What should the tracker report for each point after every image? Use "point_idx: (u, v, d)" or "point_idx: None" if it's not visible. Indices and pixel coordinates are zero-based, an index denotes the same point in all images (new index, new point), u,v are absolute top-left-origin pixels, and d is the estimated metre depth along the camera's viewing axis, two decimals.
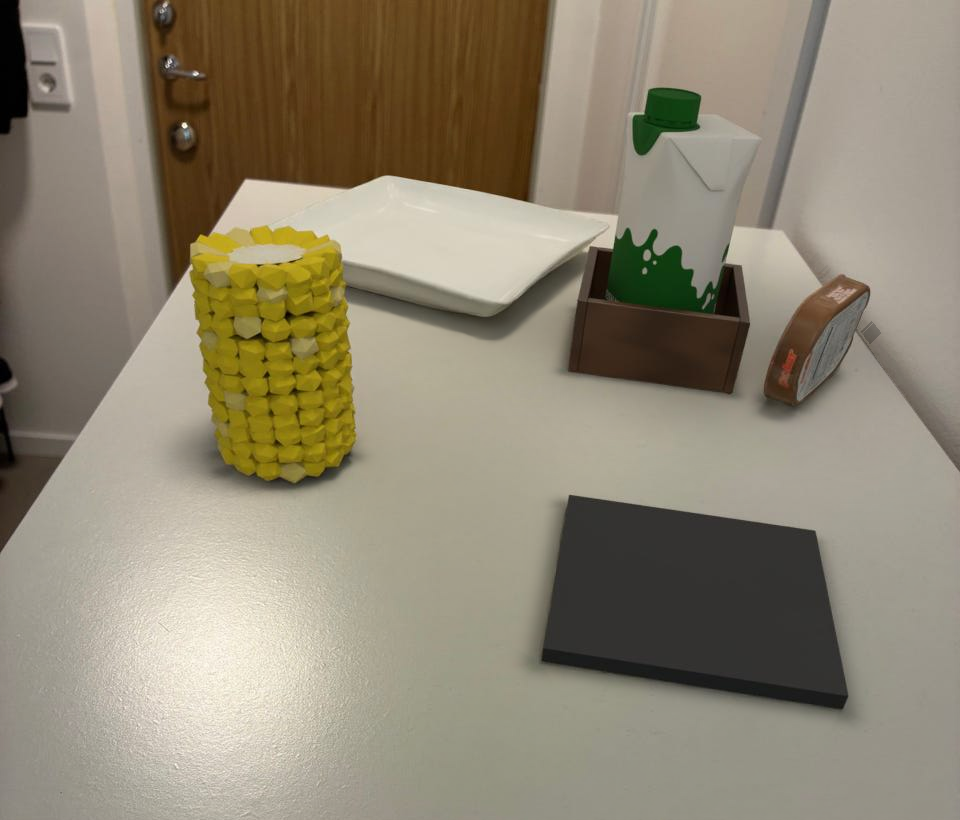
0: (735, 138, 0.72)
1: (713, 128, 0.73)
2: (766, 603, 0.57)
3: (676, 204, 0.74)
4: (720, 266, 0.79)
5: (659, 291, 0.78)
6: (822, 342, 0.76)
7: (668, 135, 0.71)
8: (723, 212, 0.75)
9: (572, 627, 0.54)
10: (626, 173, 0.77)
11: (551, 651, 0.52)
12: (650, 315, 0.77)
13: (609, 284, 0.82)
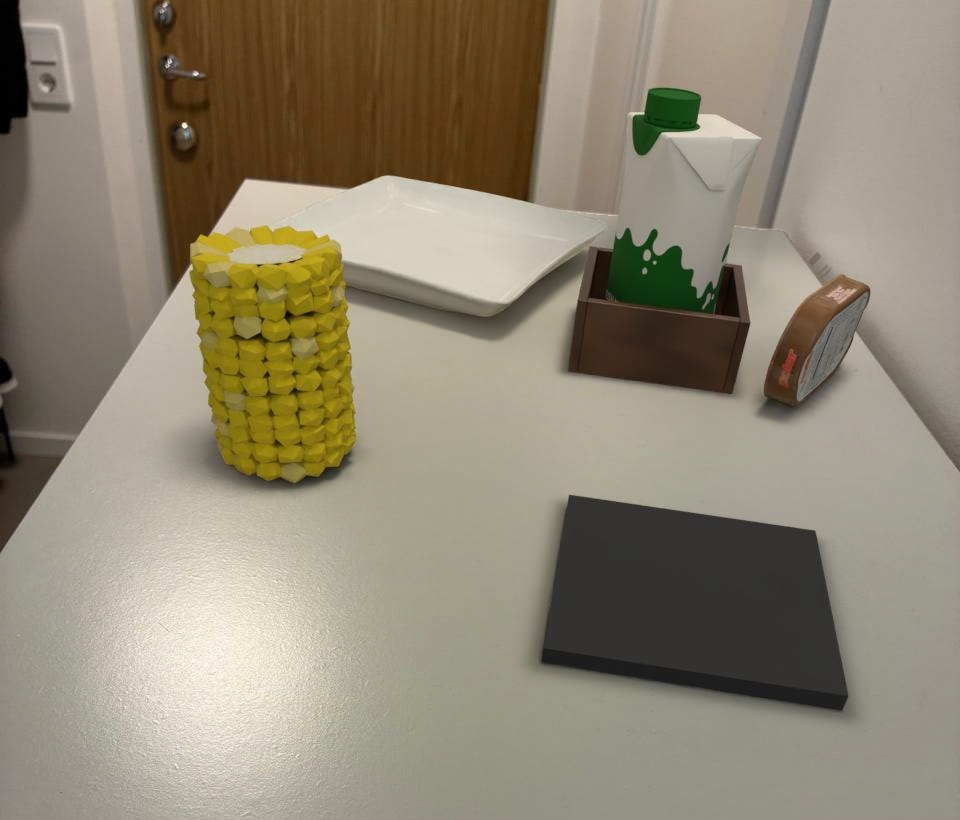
0: (735, 138, 0.72)
1: (713, 128, 0.73)
2: (766, 603, 0.57)
3: (676, 204, 0.74)
4: (720, 266, 0.79)
5: (659, 291, 0.78)
6: (822, 342, 0.76)
7: (668, 135, 0.71)
8: (723, 212, 0.75)
9: (572, 627, 0.54)
10: (626, 173, 0.77)
11: (551, 651, 0.52)
12: (650, 315, 0.77)
13: (609, 284, 0.82)
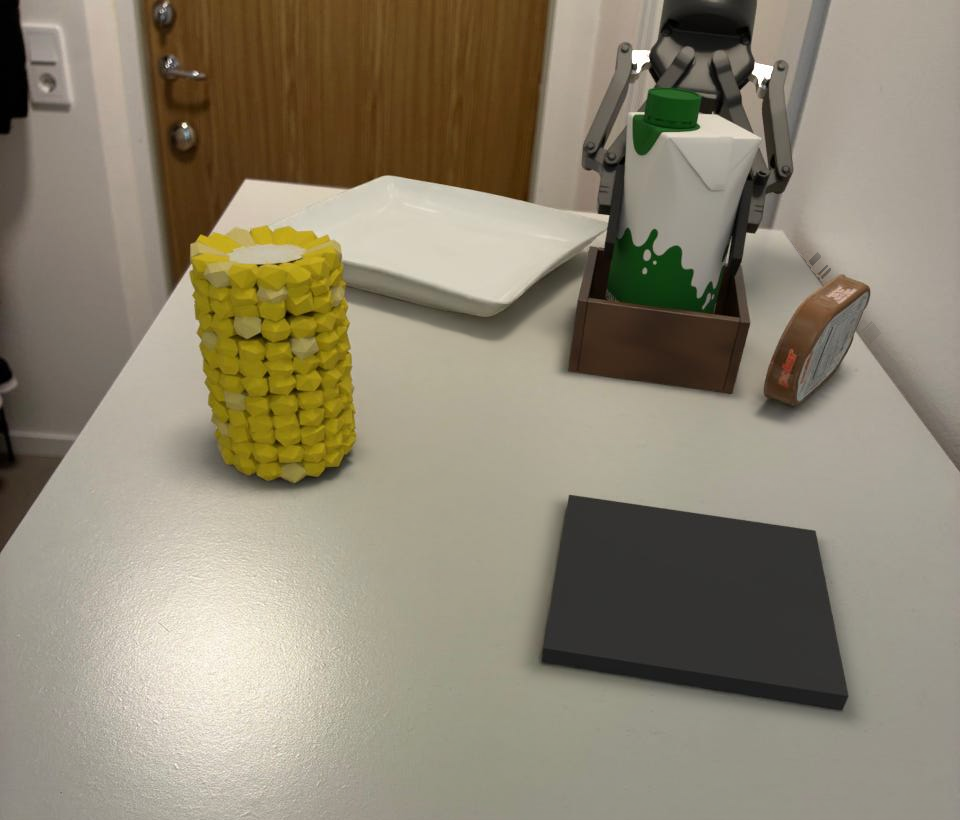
0: (735, 138, 0.72)
1: (713, 128, 0.73)
2: (766, 603, 0.57)
3: (676, 204, 0.74)
4: (720, 266, 0.79)
5: (659, 291, 0.78)
6: (822, 342, 0.76)
7: (668, 135, 0.71)
8: (723, 212, 0.75)
9: (572, 627, 0.54)
10: (626, 173, 0.77)
11: (551, 651, 0.52)
12: (650, 315, 0.77)
13: (609, 284, 0.82)
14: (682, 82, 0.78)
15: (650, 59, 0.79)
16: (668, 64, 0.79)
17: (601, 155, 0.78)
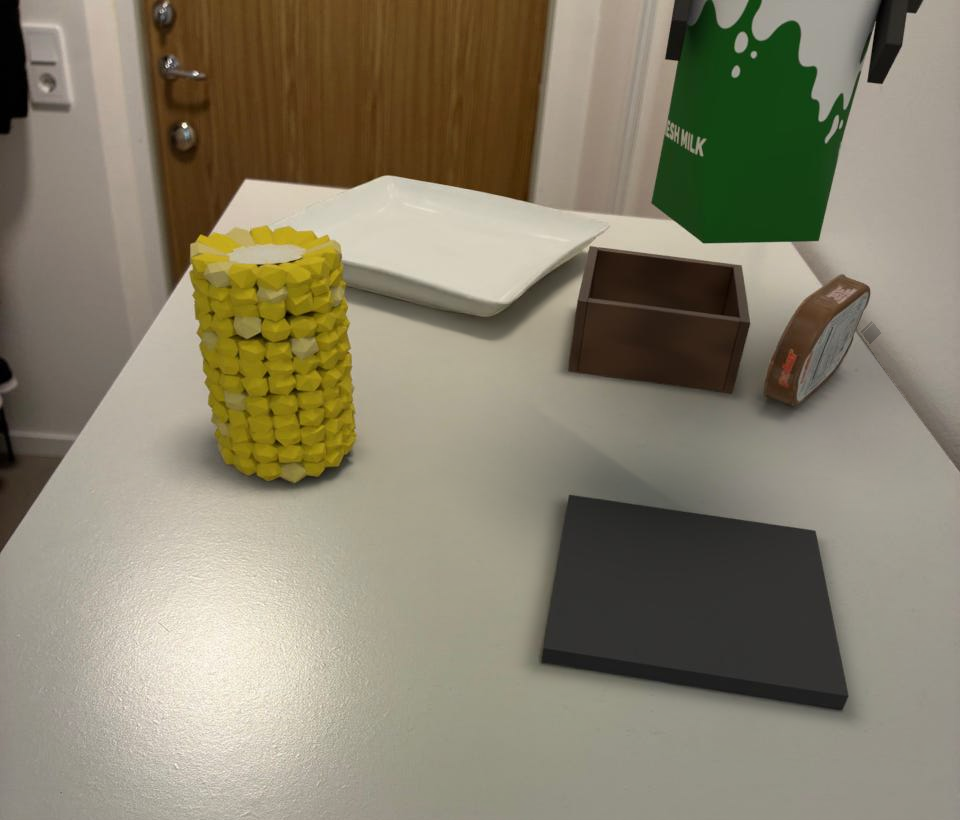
0: None
1: None
2: (766, 603, 0.57)
3: None
4: (857, 70, 0.49)
5: (758, 107, 0.48)
6: (822, 342, 0.76)
7: None
8: None
9: (572, 627, 0.54)
10: None
11: (551, 651, 0.52)
12: (650, 315, 0.77)
13: (672, 110, 0.52)
14: None
15: None
16: None
17: None
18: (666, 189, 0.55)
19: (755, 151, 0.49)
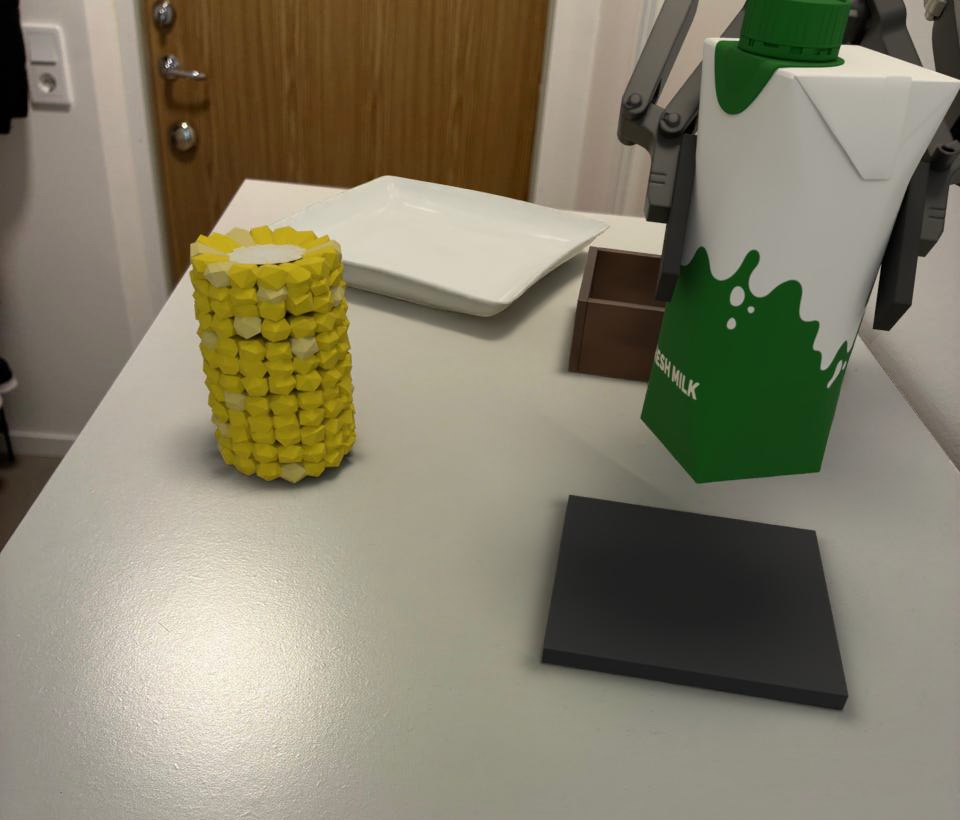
0: (916, 80, 0.38)
1: (870, 63, 0.39)
2: (766, 603, 0.57)
3: (799, 205, 0.40)
4: (861, 314, 0.45)
5: (756, 360, 0.44)
6: None
7: (793, 72, 0.37)
8: (880, 221, 0.41)
9: (572, 627, 0.54)
10: (700, 149, 0.43)
11: (551, 651, 0.52)
12: (650, 315, 0.77)
13: (663, 341, 0.48)
14: None
15: None
16: None
17: (653, 117, 0.44)
18: (656, 413, 0.51)
19: (753, 401, 0.45)
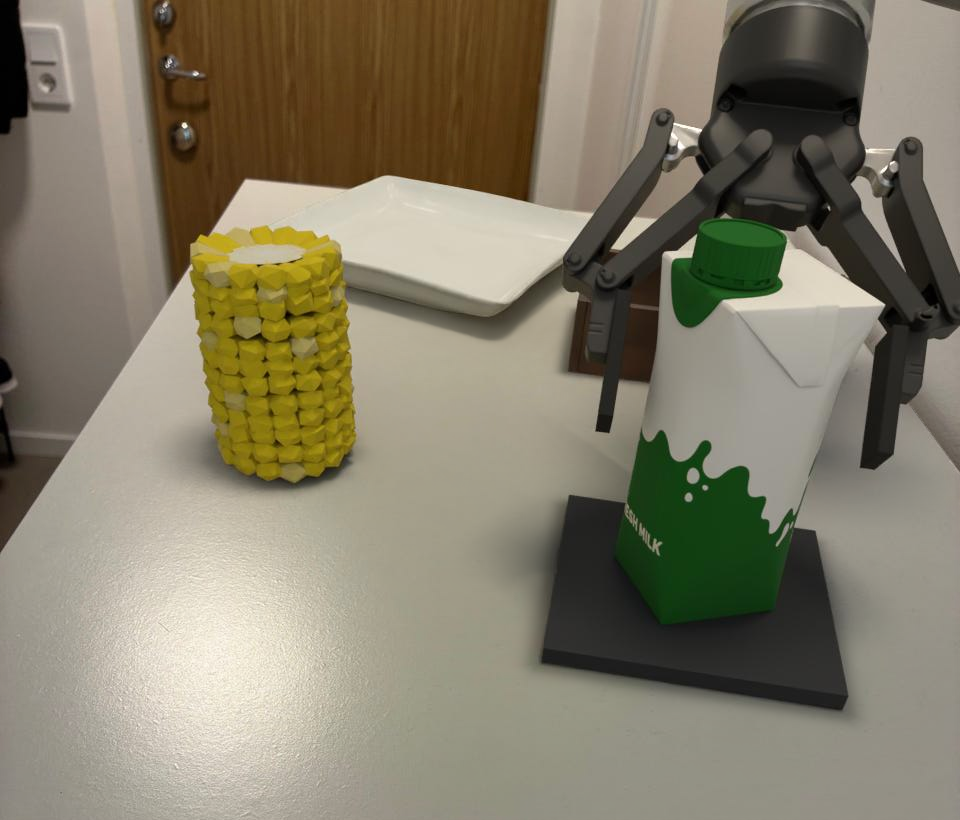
0: (843, 307, 0.44)
1: (805, 287, 0.45)
2: None
3: (743, 408, 0.46)
4: (805, 483, 0.51)
5: (711, 528, 0.50)
6: None
7: (734, 307, 0.43)
8: (817, 416, 0.47)
9: (572, 627, 0.54)
10: (660, 347, 0.48)
11: (551, 651, 0.52)
12: (650, 315, 0.77)
13: (631, 499, 0.54)
14: (751, 184, 0.49)
15: (700, 146, 0.50)
16: None
17: (592, 273, 0.50)
18: (627, 556, 0.57)
19: (709, 560, 0.51)
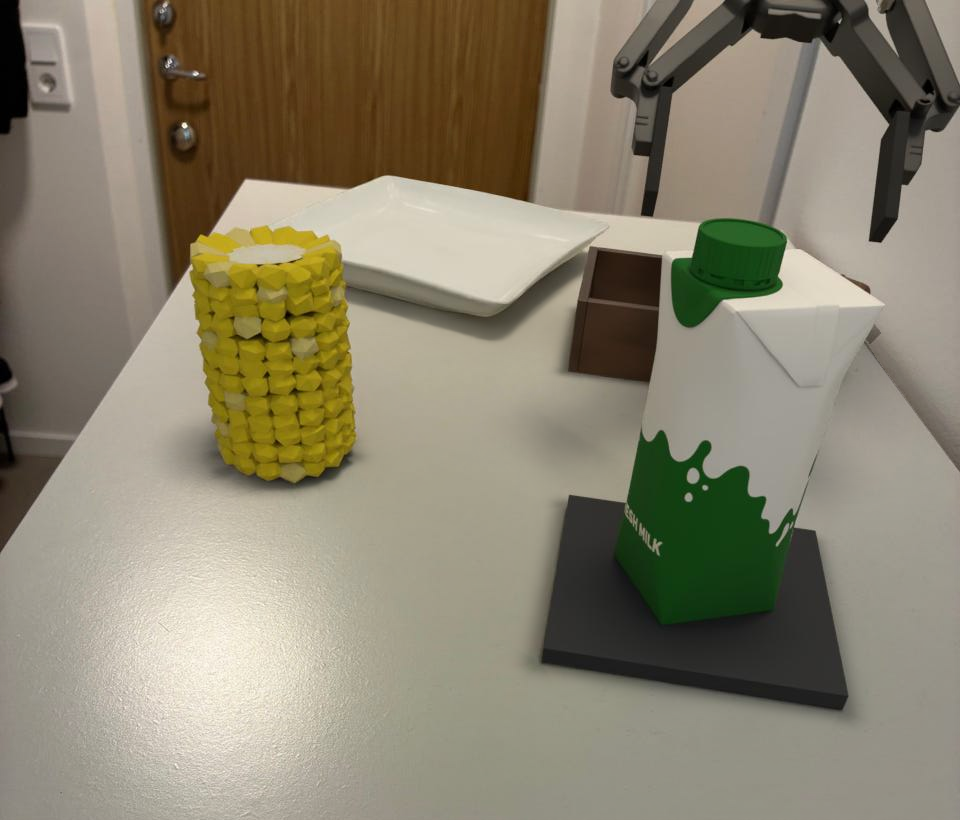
0: (843, 307, 0.44)
1: (805, 287, 0.45)
2: None
3: (743, 408, 0.46)
4: (805, 483, 0.51)
5: (711, 528, 0.50)
6: None
7: (734, 307, 0.43)
8: (817, 416, 0.47)
9: (572, 627, 0.54)
10: (660, 347, 0.48)
11: (551, 651, 0.52)
12: (650, 315, 0.77)
13: (631, 499, 0.54)
14: None
15: None
16: None
17: (638, 75, 0.58)
18: (627, 556, 0.57)
19: (709, 560, 0.51)
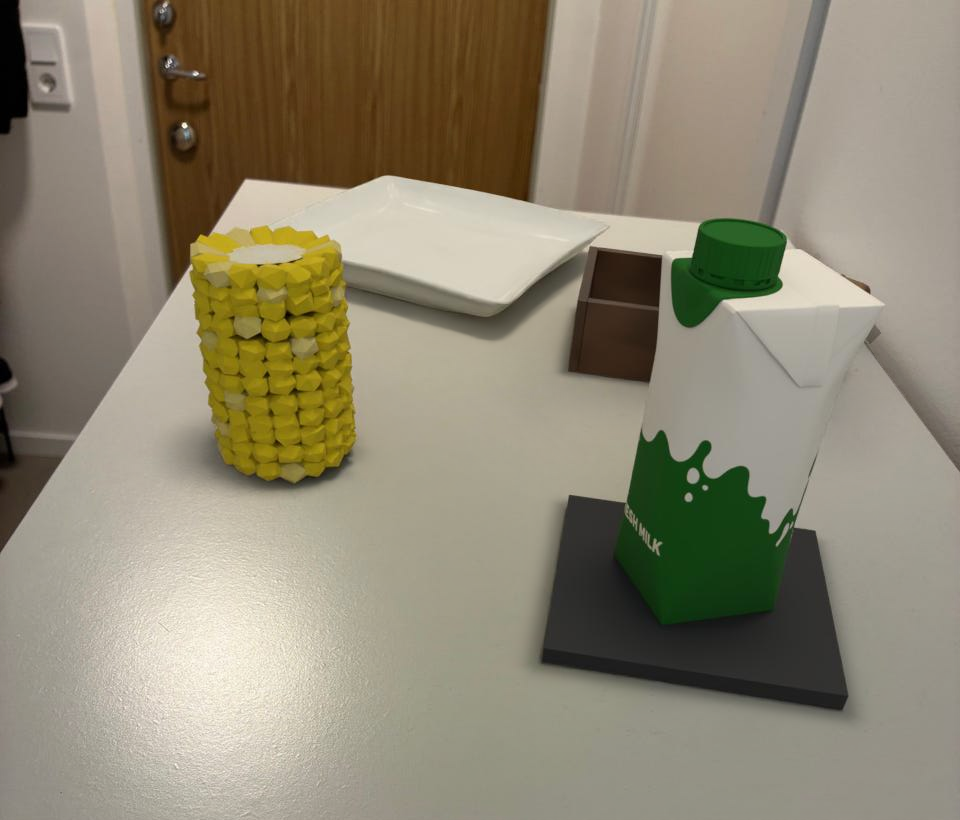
0: (843, 307, 0.44)
1: (805, 287, 0.45)
2: None
3: (743, 408, 0.46)
4: (805, 483, 0.51)
5: (711, 528, 0.50)
6: None
7: (734, 307, 0.43)
8: (817, 416, 0.47)
9: (572, 627, 0.54)
10: (660, 347, 0.48)
11: (551, 651, 0.52)
12: (650, 315, 0.77)
13: (631, 499, 0.54)
14: None
15: None
16: None
17: None
18: (627, 556, 0.57)
19: (709, 560, 0.51)
